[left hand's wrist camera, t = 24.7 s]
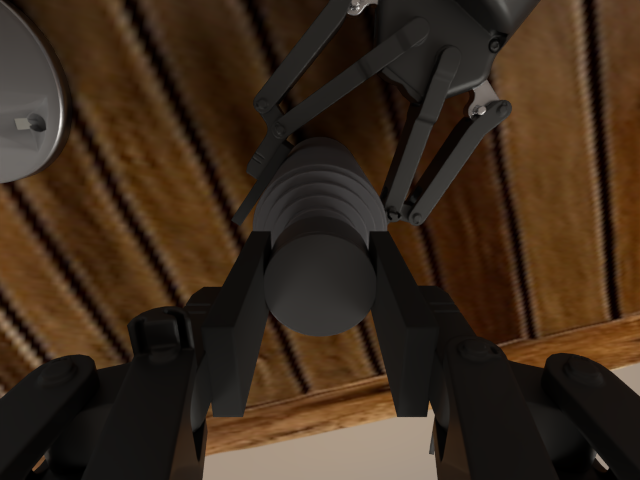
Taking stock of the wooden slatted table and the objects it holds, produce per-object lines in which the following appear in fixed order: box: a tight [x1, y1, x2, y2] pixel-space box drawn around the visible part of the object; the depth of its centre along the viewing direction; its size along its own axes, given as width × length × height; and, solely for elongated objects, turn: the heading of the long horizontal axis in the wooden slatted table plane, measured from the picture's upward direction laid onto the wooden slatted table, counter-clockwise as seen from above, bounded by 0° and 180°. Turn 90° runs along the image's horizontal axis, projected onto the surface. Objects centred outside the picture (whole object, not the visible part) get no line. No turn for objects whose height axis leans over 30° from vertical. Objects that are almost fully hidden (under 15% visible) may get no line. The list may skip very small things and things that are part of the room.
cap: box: [264, 216, 377, 336], centre depth 13 cm, size 4×4×2 cm
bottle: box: [253, 137, 387, 249], centre depth 23 cm, size 7×7×20 cm
